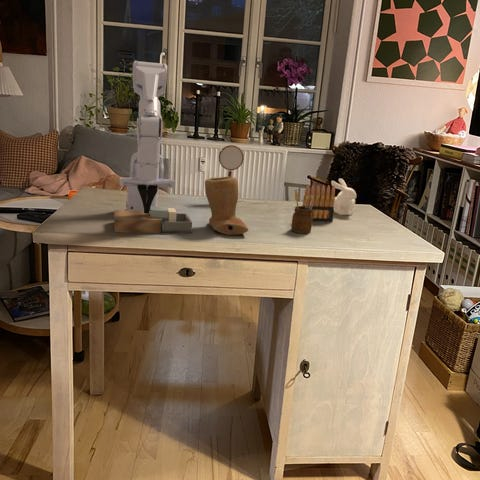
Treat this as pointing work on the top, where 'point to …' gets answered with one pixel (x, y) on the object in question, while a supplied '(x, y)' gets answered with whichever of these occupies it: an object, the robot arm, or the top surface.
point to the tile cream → (171, 215)
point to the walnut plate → (136, 222)
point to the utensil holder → (302, 217)
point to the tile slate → (158, 212)
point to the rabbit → (344, 198)
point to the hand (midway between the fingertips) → (146, 212)
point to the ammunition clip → (320, 203)
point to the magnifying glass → (231, 158)
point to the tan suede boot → (224, 205)
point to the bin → (177, 224)
